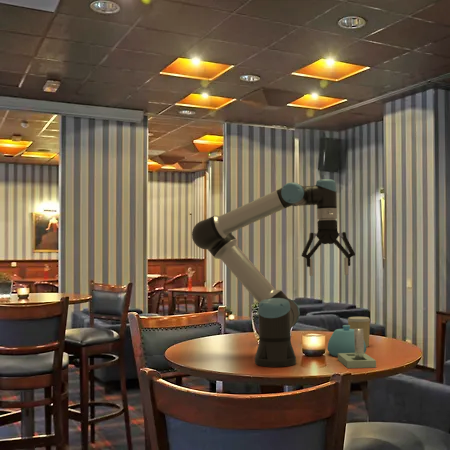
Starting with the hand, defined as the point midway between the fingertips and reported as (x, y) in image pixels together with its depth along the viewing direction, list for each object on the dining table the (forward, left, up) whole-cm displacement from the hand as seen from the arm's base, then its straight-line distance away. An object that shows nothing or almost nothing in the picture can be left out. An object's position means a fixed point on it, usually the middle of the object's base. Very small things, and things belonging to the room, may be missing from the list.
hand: (328, 275), depth 229 cm
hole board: (+7, -11, -32) cm, 34 cm away
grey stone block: (+7, -15, -32) cm, 36 cm away
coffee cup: (+18, +27, -32) cm, 46 cm away
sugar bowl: (+8, +8, -32) cm, 34 cm away
